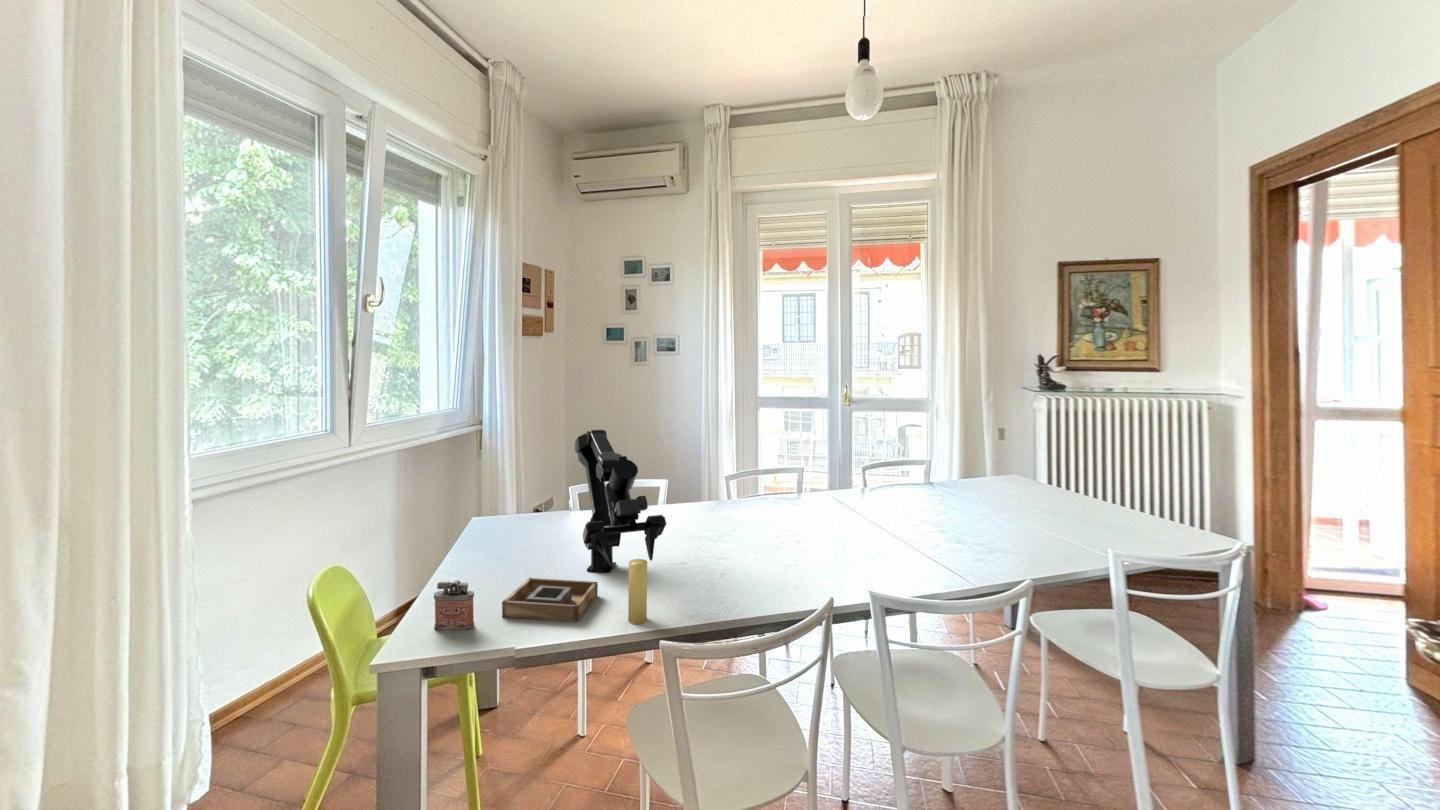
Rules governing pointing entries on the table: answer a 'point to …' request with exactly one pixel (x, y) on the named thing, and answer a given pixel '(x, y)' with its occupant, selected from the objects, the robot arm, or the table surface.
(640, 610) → the plug
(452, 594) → the lighter
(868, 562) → the table surface
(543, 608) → the walled box
